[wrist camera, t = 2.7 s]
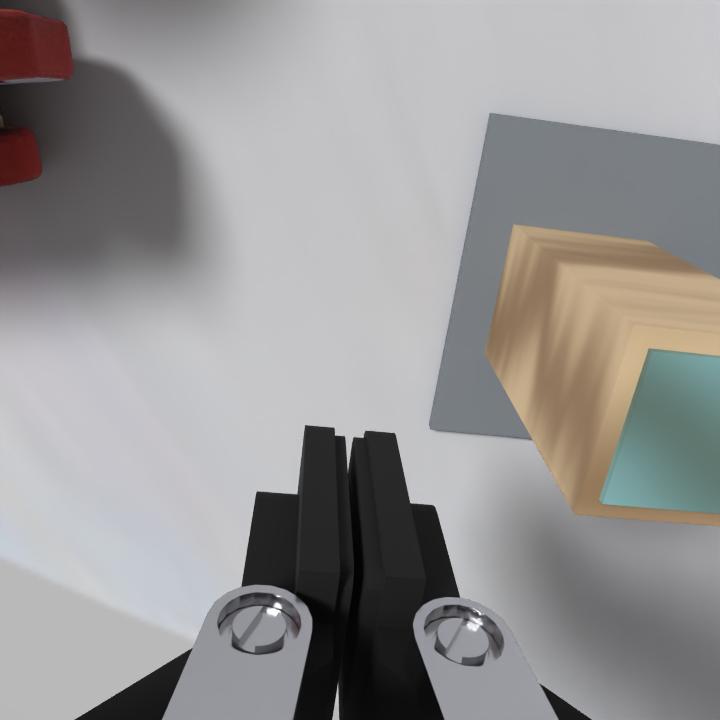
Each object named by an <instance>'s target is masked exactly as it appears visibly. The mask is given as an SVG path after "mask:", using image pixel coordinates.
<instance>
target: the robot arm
mask: <svg viewBox="0 0 720 720" xmlns="http://www.w3.org/2000/svg"><path fill="white" fill-rule="evenodd" d="M337 685H338V689H339V719H340V720H591V719H590V718H588V717H587V716H586V715H584V714H583V713H581V712H580V711H578V710H577V709H575V708H574V707H573V706H571V705H570V704H568V703H567V702H565V701H564V700H563V699H561V698H560V697H558V696H557V695H555V694H554V693H553V692H551V691H550V690H548V689H547V688H545V687H544V686H542V685H541V684H540V683H539V682H538V680H537V678H536V676H535V675H534V673H533V671H532V669H531V667H530V665H529V663H528V661H527V660H526V658H525V656H524V654H523V652H522V650H521V648H520V646H519V645H518V643H517V641H516V639H515V637H514V635H513V633H512V631H511V630H510V629H509V627H508V626H507V624H506V623H505V622H504V620H503V619H502V618H501V617H499V616H498V615H497V614H496V613H495V612H493V611H492V610H491V609H489V608H487V607H485V606H483V605H481V604H479V603H477V602H474V601H471V600H467V599H464V598H460V596H459V592H458V588H457V585H456V581H455V577H454V573H453V570H452V566H451V562H450V559H449V555H448V551H447V548H446V544H445V540H444V537H443V533H442V529H441V525H440V522H439V518H438V514H437V511H436V509H435V507H434V506H433V505H424V504H411V503H410V500H409V496H408V491H407V486H406V482H405V477H404V472H403V467H402V463H401V458H400V453H399V449H398V444H397V439H396V435H395V433H386V432H375V431H365V434H364V438H356V437H354V438H353V442H352V449H351V456H350V463H349V470H347V455H346V441H345V436H335V429H334V428H330V427H319V426H307V425H305V431H304V439H303V448H302V457H301V467H300V476H299V485H298V494H297V495H296V494H283V493H270V492H258V491H257V493H256V498H255V505H254V511H253V517H252V523H251V530H250V536H249V542H248V549H247V555H246V561H245V568H244V574H243V580H242V586H241V587H240V588H237V589H235V590H232V591H230V592H228V593H226V594H225V595H223V596H222V597H221V598H219V599H218V600H217V601H215V603H214V604H213V606H212V607H211V609H210V610H209V612H208V613H207V616H206V618H205V621H204V623H203V625H202V628H201V630H200V632H199V635H198V637H197V639H196V642H195V644H194V646H193V648H192V649H190V650H188V651H187V652H185V653H183V654H182V655H180V656H178V657H177V658H175V659H174V660H172V661H170V662H169V663H167V664H165V665H164V666H162V667H161V668H159V669H157V670H156V671H154V672H152V673H151V674H149V675H147V676H146V677H144V678H142V679H141V680H139V681H137V682H136V683H134V684H133V685H131V686H129V687H128V688H126V689H124V690H123V691H121V692H119V693H118V694H116V695H115V696H113V697H111V698H110V699H108V700H107V701H105V702H103V703H101V704H100V705H98V706H97V707H95V708H93V709H92V710H90V711H88V712H87V713H85V714H83V715H82V716H80V717H78V718H77V719H75V720H332V717H333V711H334V704H335V698H336V692H337Z"/></svg>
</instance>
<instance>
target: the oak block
mask: <svg viewBox="0 0 720 720" xmlns="http://www.w3.org/2000/svg"><path fill="white" fill-rule="evenodd" d="M485 355H486V357H487V359H488V361H489V362H490V364H491V366H492V368H493V370H494V371H495V373H496V375H497V377H498V379H499V380H500V382H501V384H502V386H503V388H504V389H505V391H506V393H507V395H508V397H509V398H510V400H511V402H512V404H513V406H514V407H515V409H516V411H517V413H518V415H519V416H520V418H521V420H522V422H523V423H524V425H525V427H526V429H527V431H528V432H529V434H530V436H531V438H532V440H533V441H534V443H535V445H536V447H537V449H538V450H539V452H540V454H541V456H542V458H543V459H544V461H545V463H546V465H547V467H548V468H549V470H550V472H551V474H552V476H553V477H554V479H555V481H556V483H557V485H558V486H559V488H560V490H561V492H562V494H563V495H564V497H565V499H566V501H567V503H568V504H569V506H570V508H571V510H572V511H573V513H574V514H575V515H587V516H600V517H612V518H625V519H637V520H650V521H662V522H675V523H687V524H700V525H712V526H720V279H718V278H716V277H714V276H712V275H710V274H709V273H707V272H705V271H703V270H701V269H699V268H697V267H696V266H694V265H692V264H690V263H688V262H686V261H684V260H683V259H681V258H679V257H677V256H675V255H673V254H671V253H670V252H668V251H666V250H664V249H662V248H660V247H658V246H657V245H655V244H653V243H651V242H649V241H646V240H638V239H630V238H621V237H613V236H605V235H597V234H589V233H581V232H572V231H564V230H556V229H548V228H540V227H532V226H524V225H515V224H513V228H512V233H511V237H510V242H509V246H508V251H507V255H506V260H505V264H504V269H503V273H502V278H501V282H500V287H499V291H498V295H497V300H496V304H495V309H494V313H493V318H492V322H491V327H490V331H489V336H488V340H487V345H486V349H485Z"/></svg>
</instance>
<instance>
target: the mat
mask: <svg viewBox="0 0 720 720" xmlns="http://www.w3.org/2000/svg"><path fill="white" fill-rule="evenodd" d="M513 224H515V225H524V226H532V227H540V228H548V229H556V230H564V231H572V232H581V233H589V234H597V235H605V236H613V237H621V238H630V239H638V240H646V241H649V242H651V243H653V244H655V245H657V246H658V247H660V248H662V249H664V250H666V251H668V252H670V253H671V254H673V255H675V256H677V257H679V258H681V259H683V260H684V261H686V262H688V263H690V264H692V265H694V266H696V267H697V268H699V269H701V270H703V271H705V272H707V273H709V274H710V275H712V276H714V277H716V278H718V279H720V145H716V144H709V143H702V142H695V141H687V140H680V139H673V138H666V137H659V136H651V135H644V134H637V133H630V132H623V131H615V130H608V129H601V128H594V127H587V126H579V125H572V124H565V123H558V122H551V121H543V120H536V119H529V118H522V117H515V116H507V115H500V114H493V113H490V116H489V121H488V126H487V131H486V136H485V141H484V146H483V151H482V157H481V162H480V167H479V172H478V177H477V182H476V187H475V192H474V197H473V203H472V208H471V213H470V218H469V223H468V228H467V233H466V238H465V243H464V249H463V254H462V259H461V264H460V269H459V274H458V279H457V284H456V290H455V295H454V300H453V305H452V310H451V315H450V320H449V325H448V330H447V336H446V341H445V346H444V351H443V356H442V361H441V366H440V371H439V376H438V382H437V387H436V392H435V397H434V402H433V407H432V412H431V417H430V422H429V426H430V429H431V430H442V431H453V432H464V433H475V434H486V435H497V436H508V437H519V438H530V439H532V438H531V436H530V434H529V432H528V431H527V429H526V427H525V425H524V423H523V422H522V420H521V418H520V416H519V415H518V413H517V411H516V409H515V407H514V406H513V404H512V402H511V400H510V398H509V397H508V395H507V393H506V391H505V389H504V388H503V386H502V384H501V382H500V380H499V379H498V377H497V375H496V373H495V371H494V370H493V368H492V366H491V364H490V362H489V361H488V359H487V357H486V355H485V349H486V345H487V340H488V336H489V331H490V327H491V322H492V318H493V313H494V309H495V304H496V300H497V295H498V291H499V287H500V282H501V278H502V273H503V269H504V264H505V260H506V255H507V251H508V246H509V242H510V237H511V233H512V228H513Z"/></svg>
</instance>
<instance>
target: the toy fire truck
mask: <svg viewBox="0 0 720 720" xmlns="http://www.w3.org/2000/svg"><path fill="white" fill-rule="evenodd" d="M72 75H73V61H72V55H71V49H70V42H69V36H68V31H67V26H66V25H65V24H64V23H63V22H61V21H58V20H54V19H48V18H45V17H41V16H38V15H35V14H31V13H27V12H23V11H20V10H11V9H0V85H5V84H19V83H33V82H50V81H60V80H66V79H69V78H71V76H72ZM2 114H3V109H2V108H1V107H0V186H6V185H12V184H17V183H21V182H26V181H29V180H33V179H36V178H38V177H39V176H40V175H41V173H42V164H41V159H40V155H39V151H38V146H37V142H36V138H35V136H34V134H33V132H32V131H31V130H29V129H27V128H25V127H22V126H9V127H5V126H4V124H3V119H2Z"/></svg>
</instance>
